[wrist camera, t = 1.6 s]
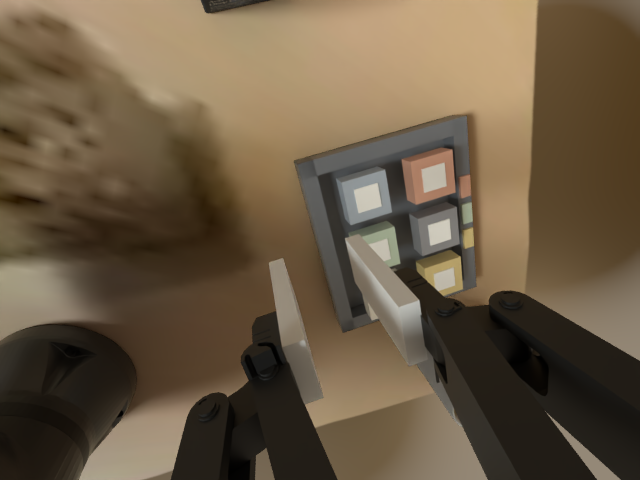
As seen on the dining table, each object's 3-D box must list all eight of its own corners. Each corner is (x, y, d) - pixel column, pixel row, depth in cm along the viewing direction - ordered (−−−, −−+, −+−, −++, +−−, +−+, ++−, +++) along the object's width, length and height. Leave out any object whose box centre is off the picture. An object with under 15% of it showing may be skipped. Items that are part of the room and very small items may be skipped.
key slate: (345, 219, 35) (351, 225, 33) (336, 178, 33) (341, 182, 31) (384, 206, 35) (392, 212, 33) (377, 166, 33) (385, 169, 31)
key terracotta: (407, 199, 35) (416, 205, 33) (401, 159, 34) (411, 162, 32) (444, 188, 36) (456, 192, 34) (441, 147, 34) (453, 149, 32)
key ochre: (420, 292, 40) (429, 301, 38) (415, 261, 38) (424, 269, 36) (453, 281, 41) (463, 289, 39) (450, 249, 39) (461, 257, 37)
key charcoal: (414, 249, 38) (423, 256, 36) (409, 213, 36) (418, 219, 34) (449, 237, 38) (460, 244, 36) (446, 201, 36) (457, 207, 34)
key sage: (356, 267, 37) (362, 276, 35) (348, 232, 35) (354, 240, 33) (392, 256, 37) (401, 264, 36) (386, 220, 36) (395, 227, 34)
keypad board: (337, 320, 43) (343, 334, 40) (293, 160, 34) (298, 165, 32) (464, 277, 45) (477, 287, 42) (452, 115, 36) (468, 115, 33)
